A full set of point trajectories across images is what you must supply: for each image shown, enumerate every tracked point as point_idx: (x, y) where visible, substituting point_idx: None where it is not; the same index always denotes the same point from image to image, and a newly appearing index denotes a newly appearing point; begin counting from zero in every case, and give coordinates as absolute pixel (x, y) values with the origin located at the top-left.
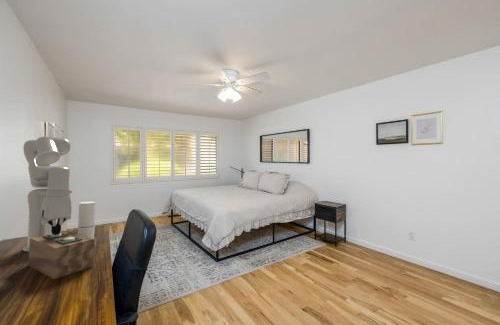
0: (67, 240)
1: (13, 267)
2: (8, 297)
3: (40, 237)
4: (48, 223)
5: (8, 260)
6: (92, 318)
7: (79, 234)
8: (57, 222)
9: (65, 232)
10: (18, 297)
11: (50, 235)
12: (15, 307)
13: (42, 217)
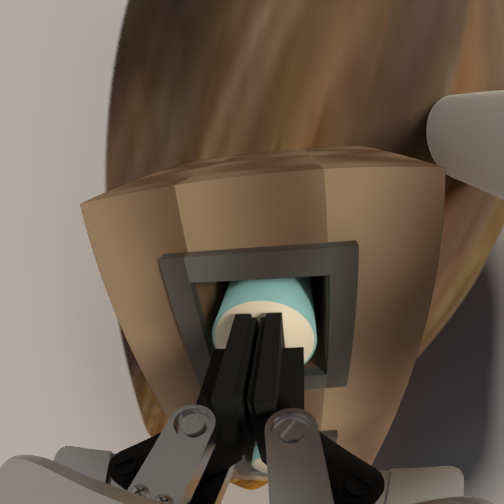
0: (264, 471)
1: (131, 135)
2: (138, 385)
3: (147, 250)
4: (140, 449)
5: (137, 9)
6: (237, 484)
7: (497, 158)
8: (270, 452)
9: (404, 225)
10: (155, 400)
11: (213, 342)
12: (155, 422)
13: (10, 462)
